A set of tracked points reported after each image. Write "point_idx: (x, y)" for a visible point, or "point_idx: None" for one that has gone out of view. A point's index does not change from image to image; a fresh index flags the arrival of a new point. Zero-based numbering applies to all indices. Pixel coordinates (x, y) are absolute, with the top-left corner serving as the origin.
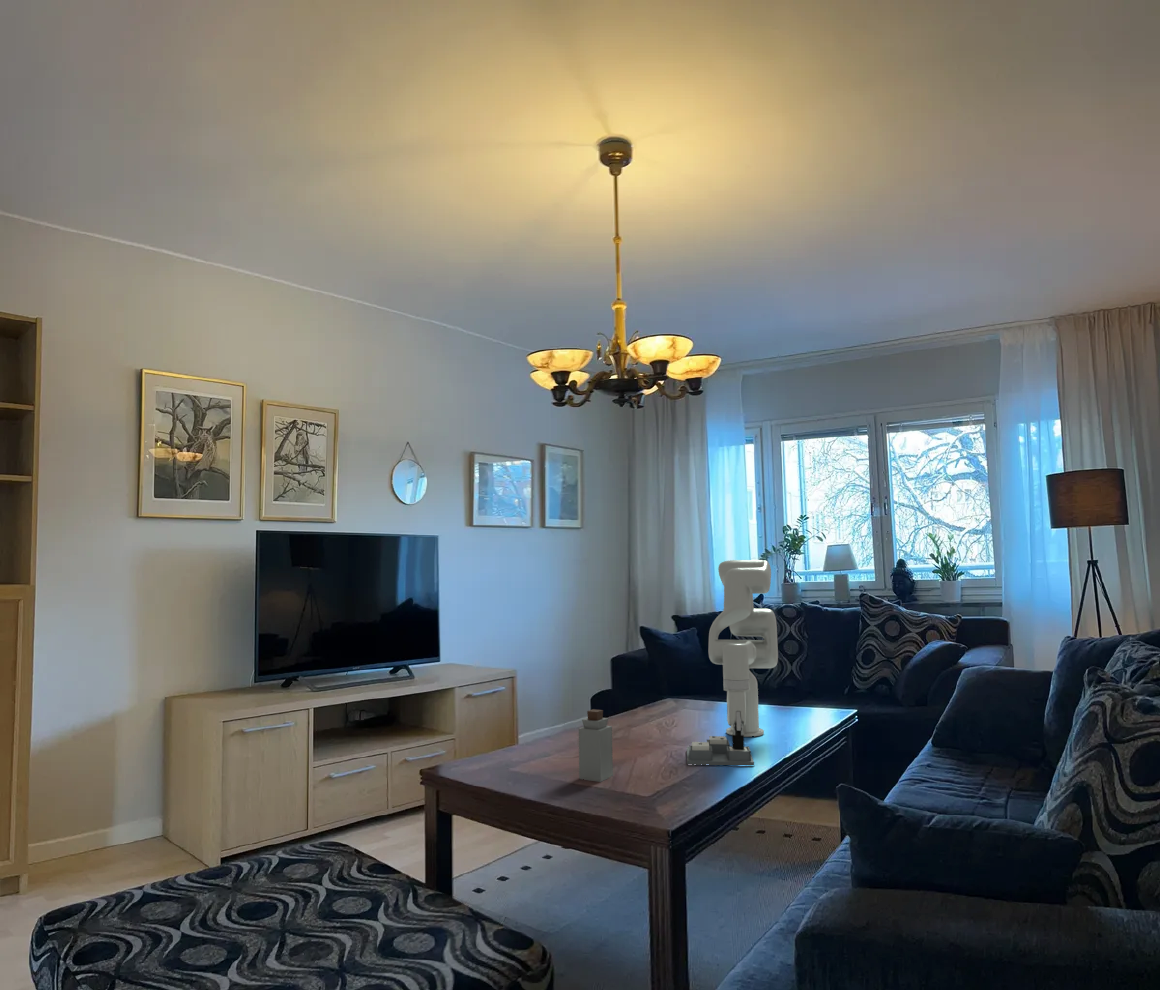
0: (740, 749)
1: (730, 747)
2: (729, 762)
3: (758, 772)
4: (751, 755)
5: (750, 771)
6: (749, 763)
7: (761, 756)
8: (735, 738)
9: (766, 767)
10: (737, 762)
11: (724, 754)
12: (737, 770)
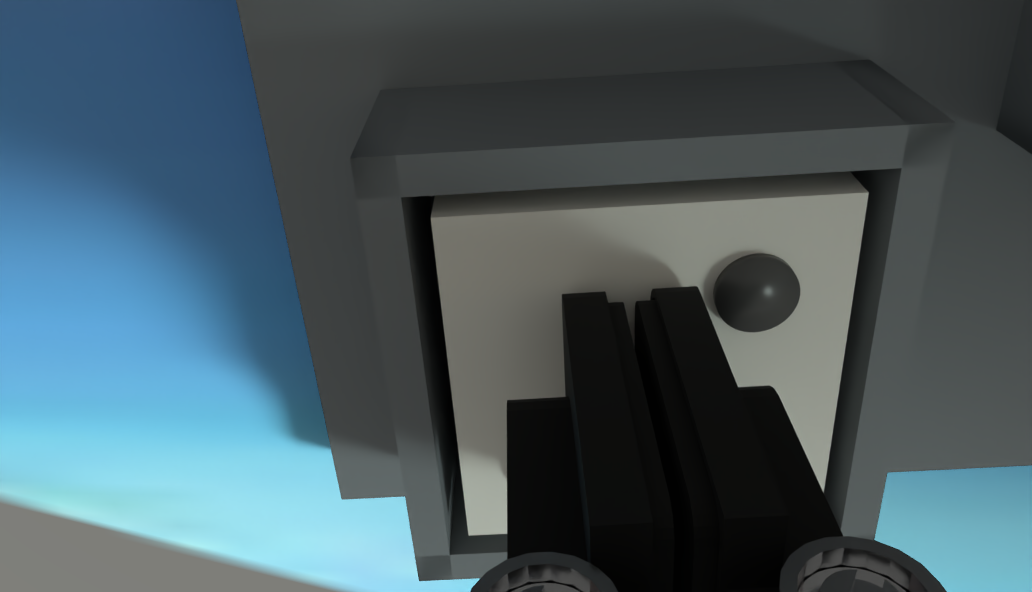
0: None
1: (799, 223)
2: (266, 118)
3: (38, 493)
4: None
5: (49, 404)
6: (335, 428)
7: (982, 547)
8: (527, 531)
9: (349, 580)
10: (293, 262)
11: (921, 12)
12: (29, 227)
